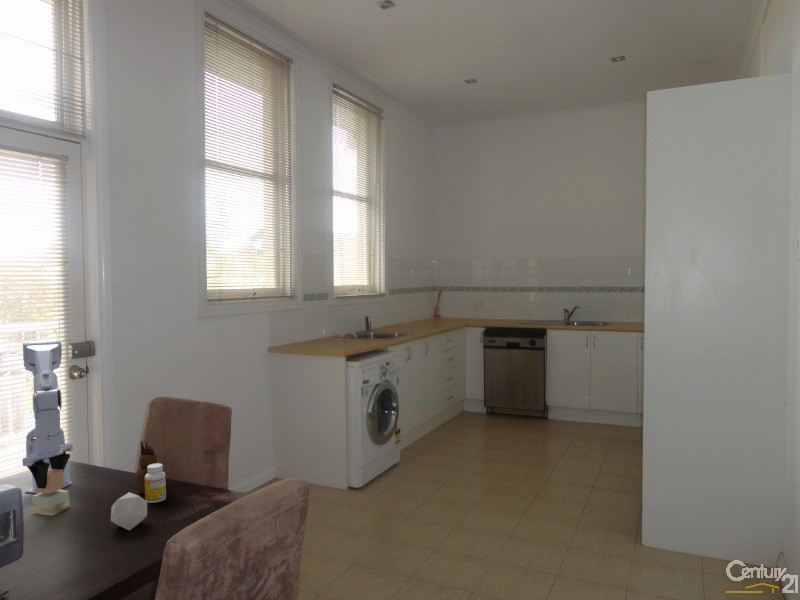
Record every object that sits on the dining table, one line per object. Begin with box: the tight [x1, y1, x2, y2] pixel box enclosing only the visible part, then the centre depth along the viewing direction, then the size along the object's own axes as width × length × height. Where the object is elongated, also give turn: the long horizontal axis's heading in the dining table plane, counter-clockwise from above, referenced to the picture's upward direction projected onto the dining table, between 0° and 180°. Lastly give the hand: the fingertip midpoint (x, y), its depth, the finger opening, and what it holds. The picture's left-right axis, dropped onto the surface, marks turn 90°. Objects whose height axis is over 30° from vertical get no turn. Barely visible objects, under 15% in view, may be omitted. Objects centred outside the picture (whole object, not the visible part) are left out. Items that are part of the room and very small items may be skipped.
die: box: [110, 491, 148, 532], centre depth 149 cm, size 8×9×10 cm
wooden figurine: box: [135, 440, 158, 494], centre depth 172 cm, size 7×6×15 cm
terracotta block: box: [36, 468, 64, 494], centre depth 159 cm, size 4×4×5 cm
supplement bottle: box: [144, 462, 167, 504], centre depth 166 cm, size 5×5×10 cm
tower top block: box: [31, 489, 70, 508], centre depth 159 cm, size 6×6×2 cm
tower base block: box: [32, 498, 71, 516], centre depth 159 cm, size 6×6×2 cm
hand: (49, 484), depth 159 cm, fingers closed on terracotta block, 4 cm apart
